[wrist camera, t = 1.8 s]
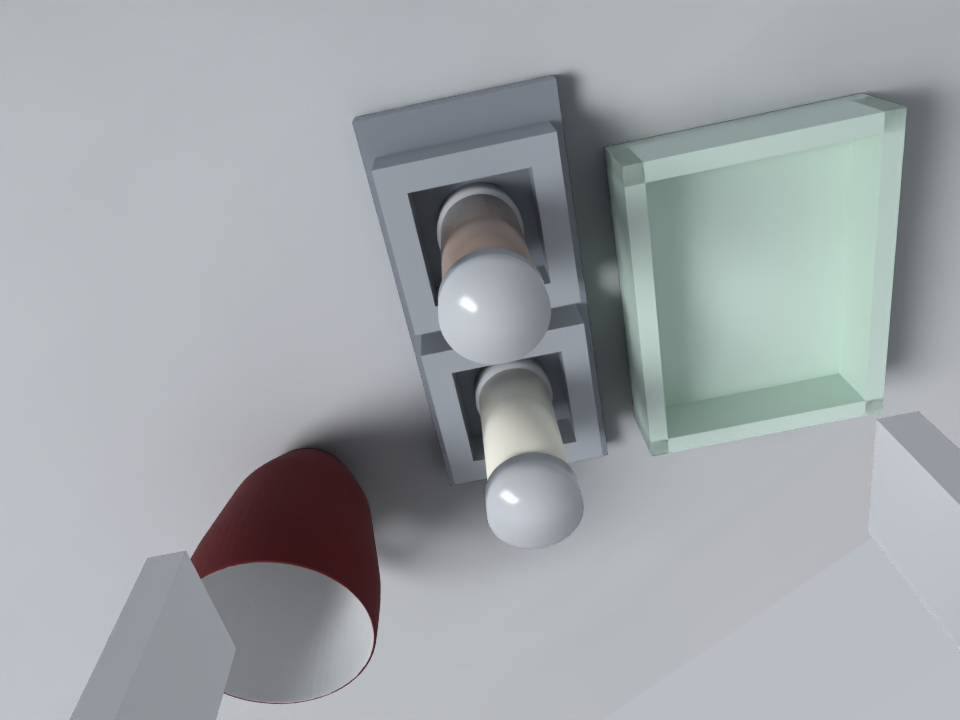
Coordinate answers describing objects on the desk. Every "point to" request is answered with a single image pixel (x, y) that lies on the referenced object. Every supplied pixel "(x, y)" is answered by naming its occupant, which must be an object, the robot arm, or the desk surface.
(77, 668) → the desk surface
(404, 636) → the desk surface
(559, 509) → the fuse
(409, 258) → the block
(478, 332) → the fuse
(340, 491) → the mug
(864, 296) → the tray
